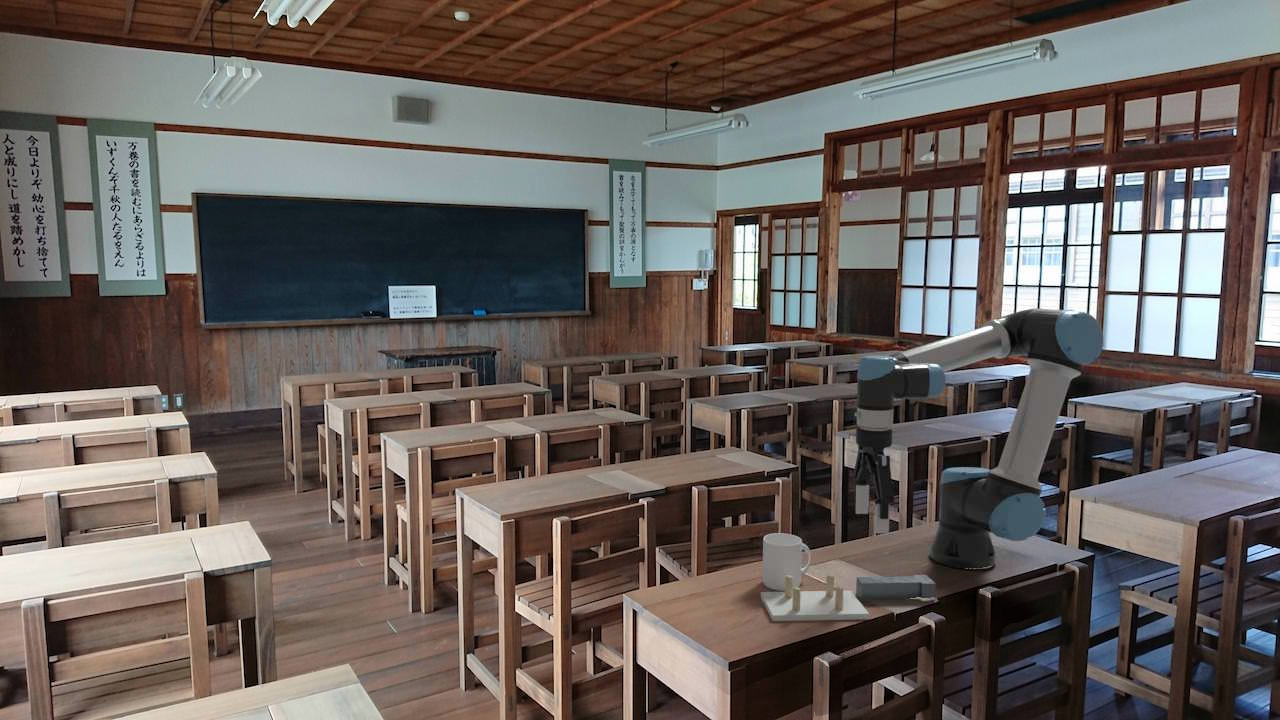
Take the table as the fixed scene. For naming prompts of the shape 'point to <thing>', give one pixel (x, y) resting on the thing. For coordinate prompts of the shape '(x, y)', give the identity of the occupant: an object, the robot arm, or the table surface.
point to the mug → (783, 560)
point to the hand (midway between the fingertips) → (871, 522)
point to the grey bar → (894, 588)
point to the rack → (813, 603)
